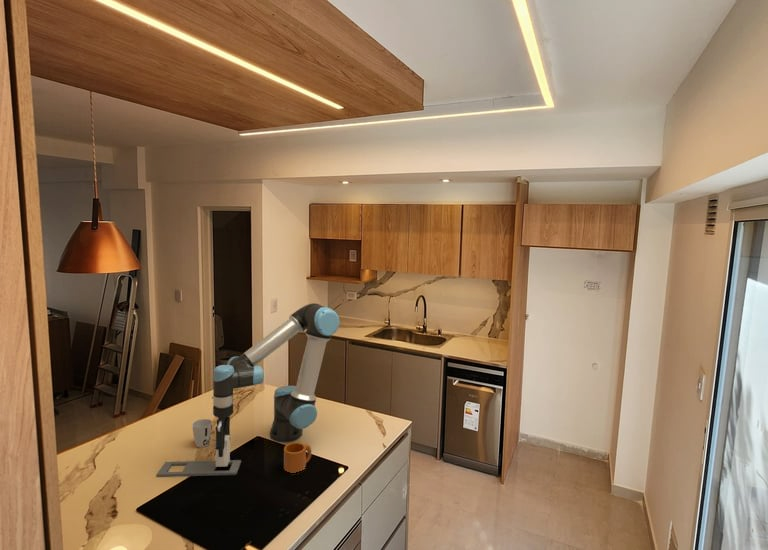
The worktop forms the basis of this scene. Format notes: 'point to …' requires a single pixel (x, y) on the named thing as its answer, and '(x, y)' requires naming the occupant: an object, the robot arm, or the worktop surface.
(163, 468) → the socket strip
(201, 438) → the cup
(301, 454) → the mug
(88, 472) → the worktop surface
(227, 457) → the plug
